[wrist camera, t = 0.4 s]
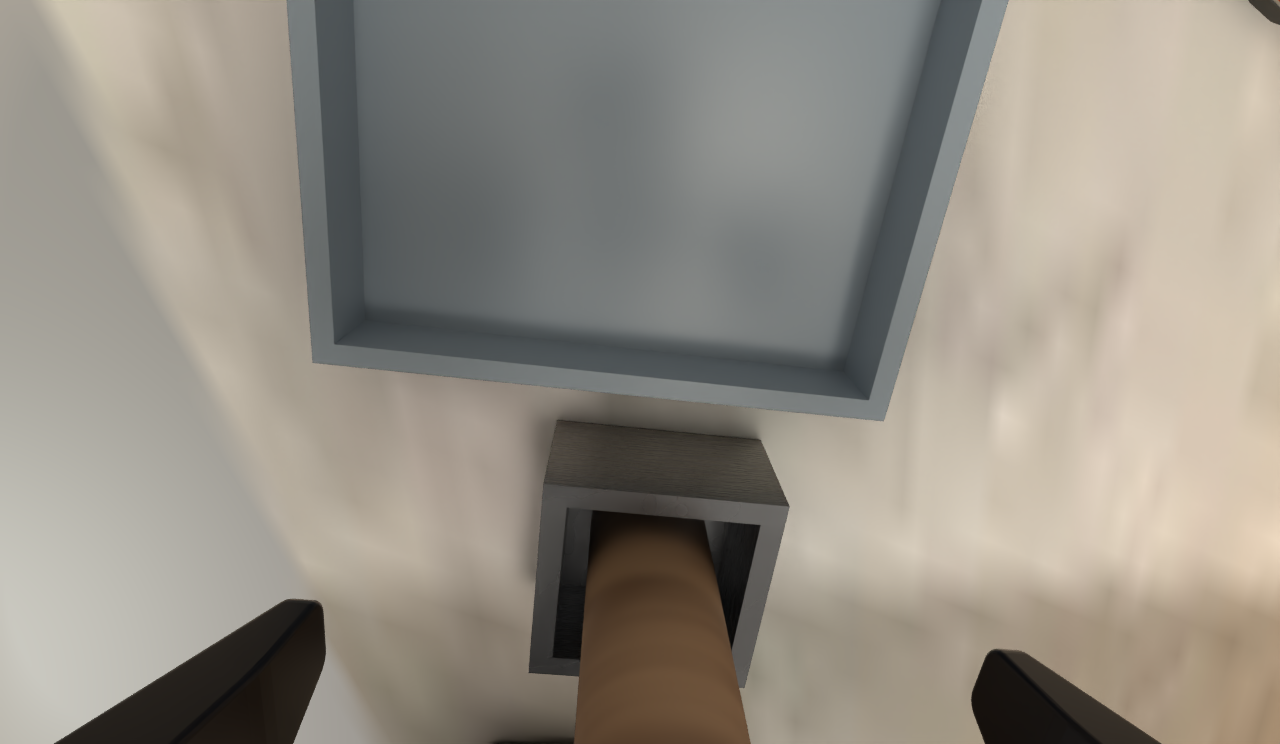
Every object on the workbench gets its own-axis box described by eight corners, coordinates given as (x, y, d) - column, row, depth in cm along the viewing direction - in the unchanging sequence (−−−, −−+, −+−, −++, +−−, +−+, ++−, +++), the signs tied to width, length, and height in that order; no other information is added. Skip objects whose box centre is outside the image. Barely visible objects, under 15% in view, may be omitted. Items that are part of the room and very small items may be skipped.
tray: (849, 381, 21) (883, 421, 18) (355, 328, 20) (312, 363, 17) (985, -130, 16) (1062, -183, 13) (331, -241, 15) (263, -325, 12)
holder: (725, 601, 24) (744, 687, 21) (543, 586, 24) (528, 673, 20) (760, 440, 22) (789, 506, 18) (556, 420, 21) (543, 484, 17)
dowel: (694, 576, 23) (744, 885, 14) (585, 568, 23) (560, 876, 13) (713, 483, 22) (782, 757, 12) (596, 472, 21) (577, 745, 12)
